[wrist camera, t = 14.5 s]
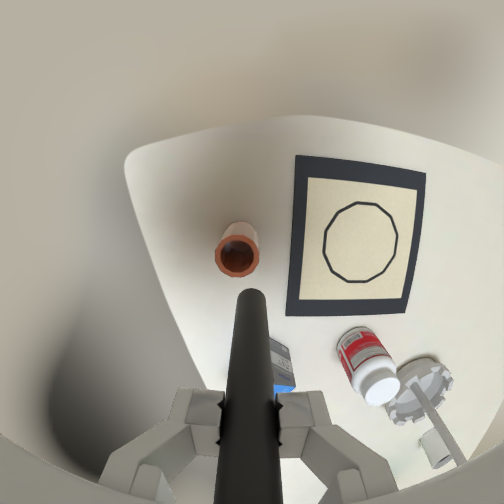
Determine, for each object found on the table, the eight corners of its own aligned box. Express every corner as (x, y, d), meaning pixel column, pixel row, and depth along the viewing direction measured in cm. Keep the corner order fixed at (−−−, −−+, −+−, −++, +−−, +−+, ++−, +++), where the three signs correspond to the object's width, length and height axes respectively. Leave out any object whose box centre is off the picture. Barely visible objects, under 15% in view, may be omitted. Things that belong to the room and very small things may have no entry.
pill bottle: (364, 362, 38) (389, 410, 27) (329, 358, 37) (350, 410, 27) (381, 328, 36) (414, 373, 25) (346, 322, 36) (374, 371, 25)
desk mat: (295, 155, 30) (296, 154, 30) (424, 173, 30) (426, 173, 30) (285, 314, 35) (285, 316, 35) (403, 311, 36) (405, 313, 35)
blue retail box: (252, 385, 39) (251, 448, 27) (230, 374, 38) (224, 438, 26) (289, 348, 37) (302, 412, 25) (267, 335, 36) (273, 399, 24)
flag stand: (395, 355, 38) (484, 501, 9) (449, 350, 38) (538, 457, 9) (370, 410, 41) (421, 542, 12) (423, 401, 41) (483, 507, 12)
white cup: (419, 434, 45) (433, 463, 35) (441, 421, 44) (458, 448, 34) (417, 446, 46) (430, 472, 37) (439, 434, 46) (453, 459, 36)
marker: (238, 281, 17) (209, 509, 4) (265, 282, 17) (289, 511, 4) (238, 305, 18) (214, 526, 4) (264, 306, 18) (280, 528, 4)
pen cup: (224, 220, 32) (214, 234, 25) (258, 221, 32) (260, 235, 25) (223, 253, 33) (215, 276, 26) (257, 254, 33) (258, 278, 26)
